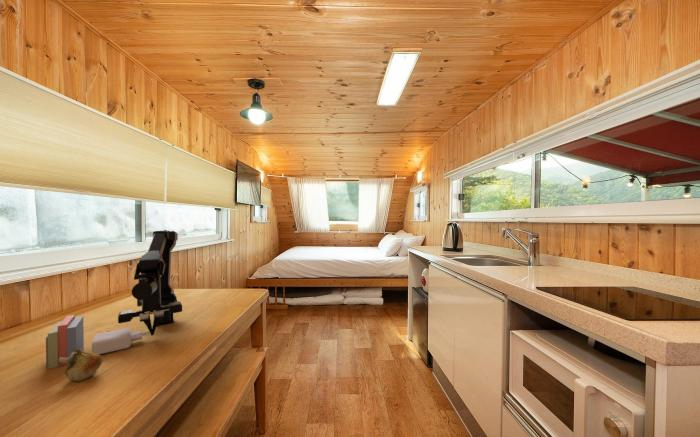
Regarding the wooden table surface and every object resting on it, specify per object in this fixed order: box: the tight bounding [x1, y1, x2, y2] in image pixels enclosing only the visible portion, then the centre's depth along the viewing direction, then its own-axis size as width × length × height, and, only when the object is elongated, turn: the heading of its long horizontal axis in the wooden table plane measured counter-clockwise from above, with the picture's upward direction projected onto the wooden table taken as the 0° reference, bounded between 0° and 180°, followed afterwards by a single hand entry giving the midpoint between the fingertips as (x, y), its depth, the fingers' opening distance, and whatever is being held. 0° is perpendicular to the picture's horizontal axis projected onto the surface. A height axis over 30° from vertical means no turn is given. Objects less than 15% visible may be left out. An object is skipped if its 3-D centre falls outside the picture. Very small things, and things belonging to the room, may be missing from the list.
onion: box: [59, 349, 104, 382], centre depth 77 cm, size 8×8×8 cm
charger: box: [91, 327, 150, 355], centre depth 97 cm, size 5×9×15 cm
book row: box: [45, 314, 85, 369], centre depth 89 cm, size 7×12×12 cm, turn 36°
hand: (152, 335), depth 102 cm, fingers closed
